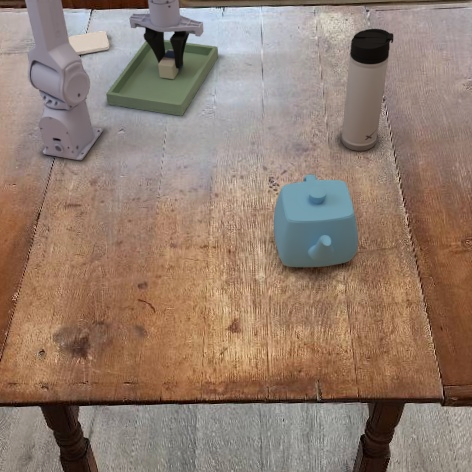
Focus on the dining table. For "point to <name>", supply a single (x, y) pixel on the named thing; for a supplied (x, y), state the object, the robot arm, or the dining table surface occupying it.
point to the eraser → (168, 66)
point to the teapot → (315, 223)
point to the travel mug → (365, 88)
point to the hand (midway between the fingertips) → (171, 64)
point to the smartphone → (89, 42)
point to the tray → (162, 80)
